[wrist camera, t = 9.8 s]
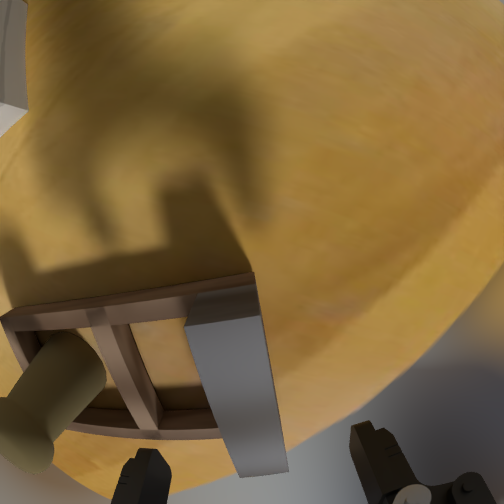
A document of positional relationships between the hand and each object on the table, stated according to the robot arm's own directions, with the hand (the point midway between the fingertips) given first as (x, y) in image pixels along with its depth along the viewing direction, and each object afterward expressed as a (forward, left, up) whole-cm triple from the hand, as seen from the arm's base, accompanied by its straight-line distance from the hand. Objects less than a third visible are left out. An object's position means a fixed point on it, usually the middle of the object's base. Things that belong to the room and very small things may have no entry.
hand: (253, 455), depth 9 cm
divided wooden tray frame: (0, -9, -9) cm, 12 cm away
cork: (0, -14, -9) cm, 17 cm away
